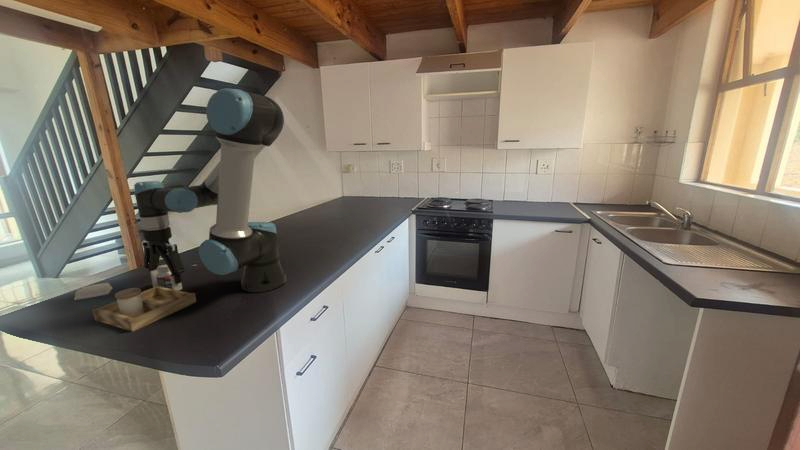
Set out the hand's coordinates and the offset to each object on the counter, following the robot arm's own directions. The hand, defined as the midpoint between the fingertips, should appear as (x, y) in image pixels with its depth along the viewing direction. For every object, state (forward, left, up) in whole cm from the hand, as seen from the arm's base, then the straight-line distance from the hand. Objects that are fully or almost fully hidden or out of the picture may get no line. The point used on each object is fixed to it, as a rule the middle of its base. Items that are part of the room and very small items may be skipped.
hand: (168, 289), depth 111 cm
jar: (-11, +17, +1) cm, 20 cm away
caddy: (-11, +13, 0) cm, 17 cm away
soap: (+21, +11, -1) cm, 24 cm away
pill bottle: (0, 0, 0) cm, 0 cm away
